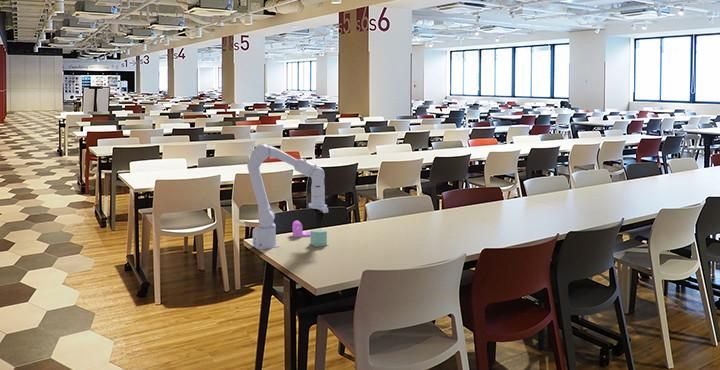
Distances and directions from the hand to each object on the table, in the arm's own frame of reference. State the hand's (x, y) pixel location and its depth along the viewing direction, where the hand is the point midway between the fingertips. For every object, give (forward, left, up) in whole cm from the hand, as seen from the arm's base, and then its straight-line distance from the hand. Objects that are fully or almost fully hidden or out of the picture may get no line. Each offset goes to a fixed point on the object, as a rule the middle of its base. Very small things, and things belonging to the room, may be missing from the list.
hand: (318, 226), depth 272 cm
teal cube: (0, 0, -8) cm, 8 cm away
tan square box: (0, 0, -8) cm, 8 cm away
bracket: (+4, +19, -9) cm, 21 cm away
